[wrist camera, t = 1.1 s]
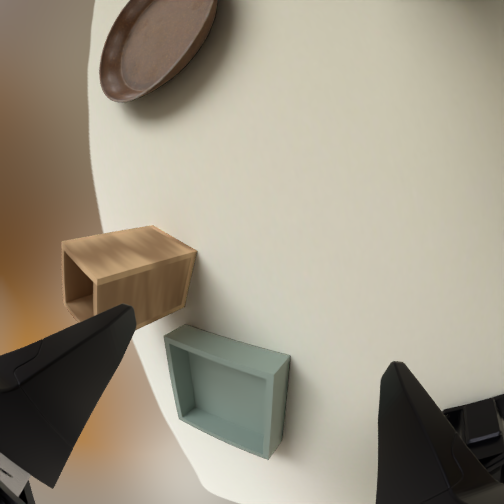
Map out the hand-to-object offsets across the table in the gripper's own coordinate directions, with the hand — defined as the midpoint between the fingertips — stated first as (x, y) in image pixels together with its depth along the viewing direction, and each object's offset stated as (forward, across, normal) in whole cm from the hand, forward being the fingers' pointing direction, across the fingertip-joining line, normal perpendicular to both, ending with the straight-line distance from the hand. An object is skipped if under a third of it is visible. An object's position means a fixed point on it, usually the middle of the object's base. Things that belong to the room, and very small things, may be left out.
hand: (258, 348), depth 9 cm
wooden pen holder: (+15, +11, +8) cm, 20 cm away
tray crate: (+10, +2, +17) cm, 19 cm away
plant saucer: (+22, +16, -16) cm, 31 cm away
